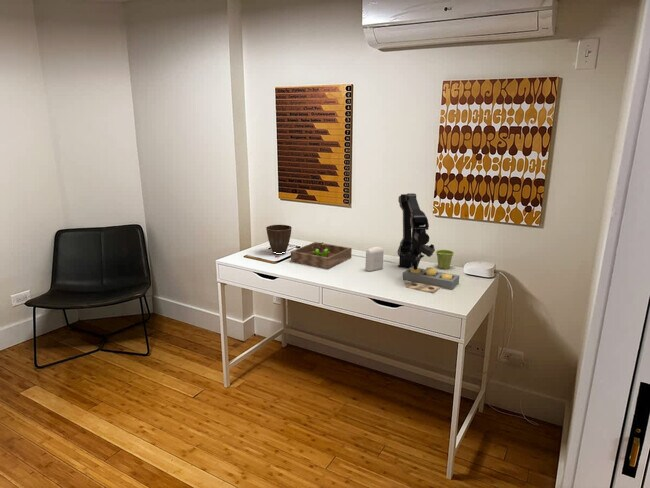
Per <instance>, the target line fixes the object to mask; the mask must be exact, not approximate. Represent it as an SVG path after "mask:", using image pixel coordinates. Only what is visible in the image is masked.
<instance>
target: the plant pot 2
mask: <svg viewBox="0 0 650 488" xmlns="http://www.w3.org/2000/svg"><path fill="white" fill-rule="evenodd" d="M454 253H455V252H454V251H452V250H447V249H439V250H435V254H436V257H437V259H436V260H437V267H438V269H444V270H446V269H447V270H448V269H450V267H451V264H452V259H453V256H454Z"/></svg>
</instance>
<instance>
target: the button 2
mask: <svg viewBox="0 0 650 488" xmlns="http://www.w3.org/2000/svg"><path fill="white" fill-rule="evenodd" d="M425 269H426V275H428V276H433V277H435V276H436V271H437V268H436V267H433V266H432V267H426V268H425Z"/></svg>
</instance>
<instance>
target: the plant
mask: <svg viewBox="0 0 650 488" xmlns="http://www.w3.org/2000/svg"><path fill="white" fill-rule="evenodd" d="M319 243H320V245H321V248H319V247H318V246H312V249H314V247H317V248H318V249H316V250H315V251H313V253H308V254H311V255H317V256H322V257H327V258H328V257H330V256H332V255H334V254H335V253H331V252H330V251H329V252H327V251H328V249H325V250H323V246H324V242H319Z"/></svg>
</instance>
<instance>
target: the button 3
mask: <svg viewBox="0 0 650 488" xmlns="http://www.w3.org/2000/svg"><path fill="white" fill-rule="evenodd" d="M444 273H445V274H442V277H441V278H444V279H449V280H451V279H452V275H451V274H452V273H449V274H447V272H444Z"/></svg>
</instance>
